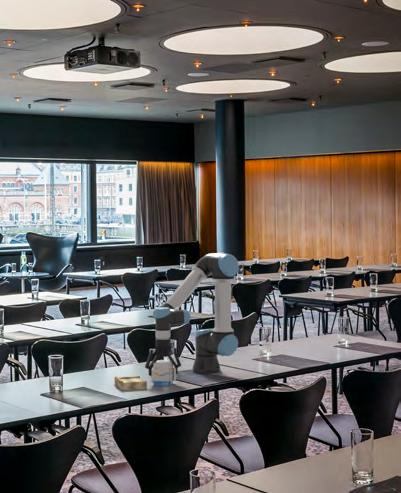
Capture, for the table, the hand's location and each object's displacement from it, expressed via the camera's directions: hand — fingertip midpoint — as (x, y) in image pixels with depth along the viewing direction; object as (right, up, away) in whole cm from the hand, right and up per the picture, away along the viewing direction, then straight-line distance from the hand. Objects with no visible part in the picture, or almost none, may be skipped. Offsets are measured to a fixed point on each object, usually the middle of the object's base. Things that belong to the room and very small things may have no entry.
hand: (163, 381), depth 454 cm
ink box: (0, -2, 0) cm, 2 cm away
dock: (-16, -2, -5) cm, 17 cm away
